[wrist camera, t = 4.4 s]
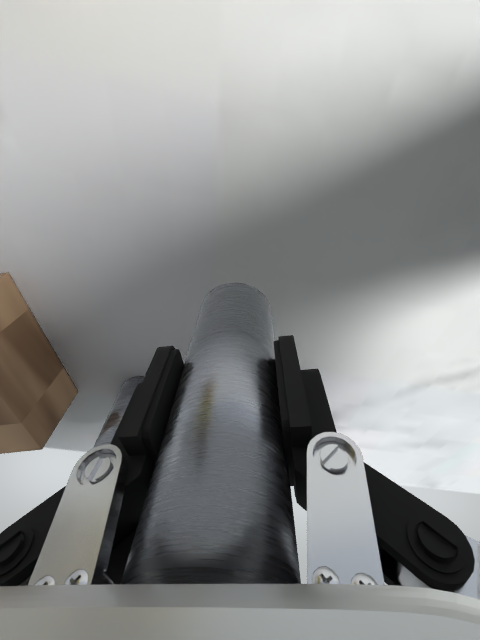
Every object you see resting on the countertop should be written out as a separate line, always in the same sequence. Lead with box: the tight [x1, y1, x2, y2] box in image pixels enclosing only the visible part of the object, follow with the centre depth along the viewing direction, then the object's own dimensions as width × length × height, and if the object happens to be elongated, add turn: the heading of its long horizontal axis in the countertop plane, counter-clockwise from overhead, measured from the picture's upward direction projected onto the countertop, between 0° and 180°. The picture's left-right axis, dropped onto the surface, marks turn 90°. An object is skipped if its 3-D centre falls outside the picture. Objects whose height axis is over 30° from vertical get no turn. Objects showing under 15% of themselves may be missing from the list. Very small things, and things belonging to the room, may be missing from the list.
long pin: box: [121, 283, 301, 584], centre depth 10 cm, size 4×4×12 cm
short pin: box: [94, 377, 144, 448], centre depth 21 cm, size 4×4×6 cm
